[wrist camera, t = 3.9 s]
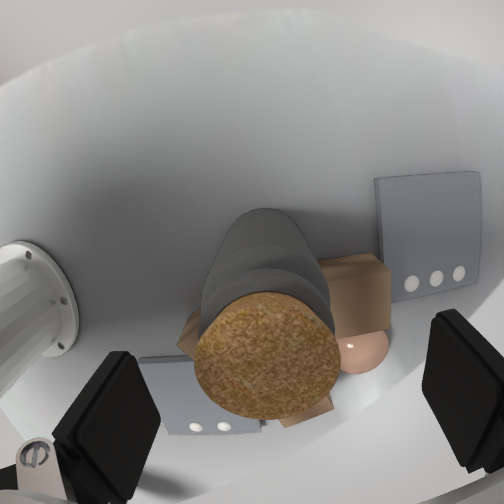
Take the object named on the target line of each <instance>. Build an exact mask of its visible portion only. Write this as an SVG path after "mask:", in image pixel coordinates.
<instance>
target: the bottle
mask: <svg viewBox="0 0 504 504" xmlns="http://www.w3.org/2000/svg"><path fill="white" fill-rule="evenodd" d="M330 306H331V303H330V292H329V287H328V284H327V281H326V279H325V277H324V275H323V272H322V270H321V268H320V266H319V264H318V262H317V261H316V259H315V257H314V255H313V253H312V251H311V249H310V247H309V246H308V244H307V242H306V240H305V238H304V236H303V235H302V233H301V231H300V230H299V228H298V226H297V225H296V224H295V223H294V221H293V220H292V219H291V218H289V217H288V216H287V215H285V214H284V213H282V212H280V211H277V210H273V209H265V208H261V209H256V210H252V211H249V212H247V213H245V214H243V215H242V216H240V217H239V218H238V219H237V220H236V221H235V222H234V223H233V225H232V226H231V228H230V229H229V231H228V233H227V235H226V237H225V239H224V241H223V243H222V245H221V247H220V250H219V252H218V254H217V256H216V258H215V260H214V263H213V265H212V267H211V269H210V271H209V274H208V276H207V279H206V281H205V284H204V287H203V291H202V297H201V311H202V314H201V317H200V321H199V326H198V344H197V346H196V350H195V354H194V370H195V375H196V378H197V380H198V383H199V385H200V387H201V388H202V390H203V391H204V393H205V394H206V395H207V396H208V397H209V398H210V399H211V400H212V401H213V402H214V403H216V404H217V405H218V406H220V407H221V408H223V409H225V410H227V411H229V412H231V413H233V414H236V415H238V416H242V417H246V418H250V419H258V420H274V419H282V418H287V417H290V416H294V415H297V414H299V413H302V412H304V411H306V410H308V409H309V408H311V407H313V406H314V405H316V404H317V403H319V402H320V401H321V400H322V399H323V398H324V397H325V396H326V395H327V394H328V393H329V391H330V390H331V389H332V387H333V386H334V384H335V382H336V380H337V377H338V375H339V371H340V365H341V354H340V350H339V346H338V343H337V341H336V339H335V324H334V319H333V316H332V313H331V310H330Z"/></svg>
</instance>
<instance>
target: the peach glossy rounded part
mask: <svg viewBox="0 0 504 504" xmlns="http://www.w3.org/2000/svg"><path fill="white" fill-rule="evenodd" d="M336 341H337V343H338V346H339V350H340V354H341V365H340V369H341V370H342V371H344V372H346V373H349V374H361V373H365V372H368V371H370V370H372V369H374V368H375V367H377V366H378V365H379V364H380V363H381V362H382V361H383V360H384V358H385V357H386V355H387V352H388V349H389V340H388V337H387V335H386V333H385V332H384V330H383V331H378V332H373V333H368V334H363V335H358V336H353V337H348V338H342V339H337V340H336Z"/></svg>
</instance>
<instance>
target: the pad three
mask: <svg viewBox="0 0 504 504" xmlns="http://www.w3.org/2000/svg"><path fill="white" fill-rule="evenodd" d="M374 183H375V193H376V204H377V217H378V233H379V255H380V261H381V262H382V263H383V264H384V265H385V266H386V267H387V268H388V269H389V270H391V303H394V302H398V301H403V300H408V299H413V298H417V297H422V296H426V295H430V294H435V293H439V292H443V291H447V290H452V289H456V288H460V287H464V286H468V285H471V284H475V283H477V282H478V272H479V260H480V244H481V183H480V172H475V171H468V172H450V173H434V174H421V175H408V176H396V177H385V178H375V179H374Z"/></svg>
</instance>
